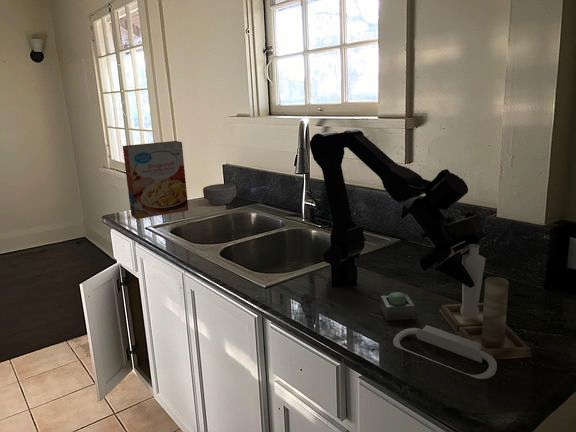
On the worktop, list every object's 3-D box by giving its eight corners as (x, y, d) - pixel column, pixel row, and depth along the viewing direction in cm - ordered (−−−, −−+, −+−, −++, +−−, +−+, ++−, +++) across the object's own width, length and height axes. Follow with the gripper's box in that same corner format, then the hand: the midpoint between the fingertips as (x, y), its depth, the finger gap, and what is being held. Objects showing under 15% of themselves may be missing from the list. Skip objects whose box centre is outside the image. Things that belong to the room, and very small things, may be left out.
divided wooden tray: (477, 364, 90) (477, 352, 90) (438, 314, 111) (439, 303, 110) (531, 361, 90) (532, 349, 90) (483, 311, 111) (484, 301, 110)
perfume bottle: (464, 319, 103) (469, 250, 99) (454, 309, 107) (458, 243, 103) (485, 316, 103) (491, 248, 99) (474, 307, 107) (479, 241, 103)
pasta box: (136, 219, 208) (127, 147, 200) (131, 215, 214) (122, 145, 207) (188, 210, 219) (181, 142, 212) (181, 207, 226) (175, 140, 219)
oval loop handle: (386, 354, 98) (383, 339, 96) (409, 330, 102) (406, 316, 101) (484, 396, 84) (483, 379, 82) (506, 366, 88) (505, 350, 87)
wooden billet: (486, 350, 93) (490, 285, 90) (478, 340, 97) (481, 277, 94) (507, 349, 93) (512, 284, 90) (498, 338, 97) (502, 276, 94)
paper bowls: (197, 204, 230) (195, 187, 228) (221, 198, 241) (220, 182, 239) (219, 208, 220) (218, 190, 218) (244, 201, 232) (242, 184, 230)
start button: (390, 316, 108) (391, 299, 107) (387, 309, 111) (387, 292, 110) (407, 315, 108) (407, 298, 107) (403, 308, 111) (403, 291, 110)
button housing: (386, 324, 107) (386, 307, 106) (380, 312, 113) (380, 296, 112) (414, 322, 107) (414, 305, 106) (406, 310, 113) (407, 294, 112)
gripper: (434, 209, 96) (485, 277, 91) (480, 192, 108) (528, 251, 103) (398, 239, 103) (444, 304, 98) (445, 221, 115) (488, 277, 110)
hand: (478, 283), depth 102 cm, fingers closed on perfume bottle, 4 cm apart
